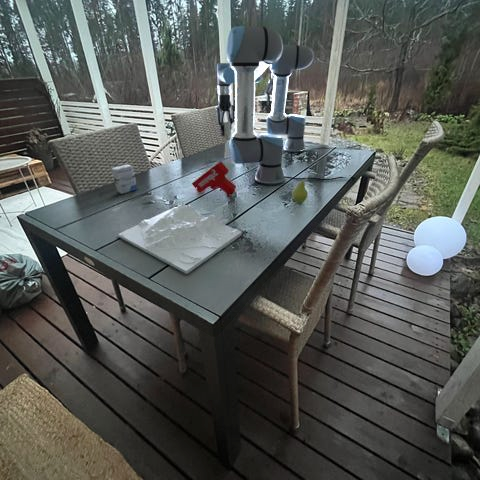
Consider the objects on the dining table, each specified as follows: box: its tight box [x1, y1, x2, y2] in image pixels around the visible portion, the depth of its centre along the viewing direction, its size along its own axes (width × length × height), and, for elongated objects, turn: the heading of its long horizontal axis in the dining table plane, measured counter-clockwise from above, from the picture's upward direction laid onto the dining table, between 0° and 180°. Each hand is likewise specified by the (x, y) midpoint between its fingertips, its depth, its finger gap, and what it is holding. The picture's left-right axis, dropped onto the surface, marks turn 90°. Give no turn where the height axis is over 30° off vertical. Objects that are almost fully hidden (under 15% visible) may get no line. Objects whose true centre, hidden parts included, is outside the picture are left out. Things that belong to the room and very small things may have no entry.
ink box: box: [110, 164, 138, 195], centre depth 131 cm, size 8×5×12 cm, turn 135°
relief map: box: [117, 202, 243, 275], centre depth 96 cm, size 27×35×5 cm
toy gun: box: [191, 161, 237, 197], centre depth 128 cm, size 18×4×15 cm
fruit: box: [291, 174, 311, 204], centre depth 118 cm, size 7×8×12 cm
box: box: [220, 120, 232, 142], centre depth 171 cm, size 5×4×11 cm
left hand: (225, 135), depth 173 cm, fingers closed on box, 4 cm apart
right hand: (274, 104), depth 210 cm, fingers open, 13 cm apart
